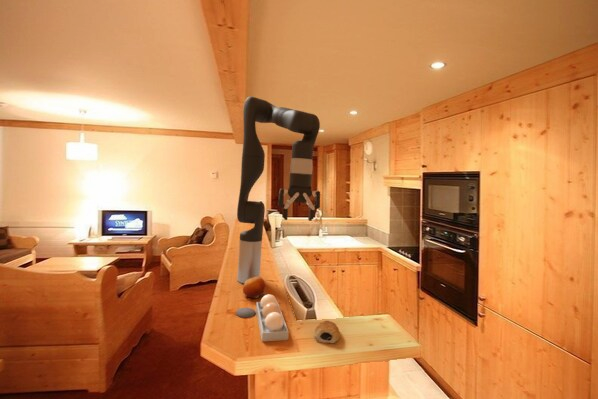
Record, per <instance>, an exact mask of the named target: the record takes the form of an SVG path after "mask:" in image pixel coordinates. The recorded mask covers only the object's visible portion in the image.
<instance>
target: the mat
mask: <svg viewBox="0 0 598 399" xmlns="http://www.w3.org/2000/svg"><path fill="white" fill-rule="evenodd" d="M235 314H236V316H237V317H238V318H244V319H245V318H251V317H254V316H255V315H256V309H254V308H251V307H241V308H238V309H237V310H236V312H235Z"/></svg>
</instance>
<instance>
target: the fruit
mask: <svg viewBox="0 0 598 399" xmlns="http://www.w3.org/2000/svg"><path fill="white" fill-rule="evenodd" d="M265 283H266V281H265V280H264V278H262V277H261V276H260V277H257V276H256V277H253V278H250V279H248V280H246V282H245V283H243V287H242V293H243V294H244V295H245V296H246V297H247V298H250V299H254V298H256V299H259V297H260V296H265V295H264V291H265V288H266V284H265Z"/></svg>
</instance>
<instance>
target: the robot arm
mask: <svg viewBox="0 0 598 399" xmlns="http://www.w3.org/2000/svg"><path fill="white" fill-rule="evenodd" d="M242 112H243V113H242V114H243V116H242V117H243V138H242V139H243V141H242V142H243V143H242V155H241V170H240V174H241V175H240V188H239V194H238V203H237V211H236V212H237V213H236V216H237V217H236V218H237V222H239V223H243V224H250V225H251V224H253V227H252V228H250V229H248V230H244V231H241V232H240V234H239V241H238V242H239V245H238V262H237V278H236V280H237V282H238V283H241V284H245V282H246V280H248V279H250V278H253V277H256V276H257V277H261V266H262V265H261V264H262V247H263V246H262V245H263V244H262V243H263V235H264V234H263V232H264V221H265V211H266V208H265V203H264V202H262V201H256V200H255V201H253V200H249V197H250V196H249V195H250V192H251V191H252V189H253V187H254V186H255V184H256V183H257V181H258V180H259V179H260V177H261V176H262V174H263V172H264V170H265V161H266V160H265V157H266V156H265V155H266V154H265V151H264V148H263V145H262V144H261V143H262V142H261V141H260V139H259V137H258V135H257V129H256V128H257V127H256V123H260V124H275V125H276V126H278V127H280V128H283V129H287V130H288V131H290V132H293V133H295V134H301V135H303V137H302V139H301V140H296V141H294V142H293V143H292V147H291V161H290V168H289V180H288V181H289V184H288V188H287V189H283V188H280V189H279V192H278V199H277V206H278V207H280V208H282V218H283V219H284V220H285V221H287V220H288V214H289V209H288V208H289V207H290V206H291V205H292V204H293V203H298V204H299V203H302V204H304V203H305V204H306V205H307V206H308V208H309V209H308V218H307V219H308V220H307V221H309V222H310V221H311V222H312V221H313V220H314V218H315V210H317V209H320V208H321V191H320V190H312V184H313V182H312V180H313V156H314V147H315V143H316V141H317V137H318V134H319V131H320V127H321V123H320V120H319V117H318V116H317V115H316V114H314V113H310V112H306V111H303V110H302V111H301V110H297V109H293V108H288V107H284V106H283V107H282V106H279V107H277V106H276V105H275V104H272V103H271V102H270V101H267V100H264V99H261V98H258V97H254V96H248V97H247V98H246V99H245V101H244V104H243V110H242ZM286 194H288V196H289V197H288V199H287V200H286V201H285V203H284V197H285V196H286ZM311 196H313V197H314V205H313V202H312V201H311V199H310V197H311Z"/></svg>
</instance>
